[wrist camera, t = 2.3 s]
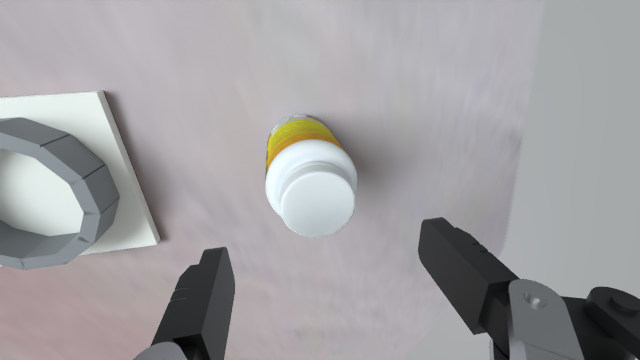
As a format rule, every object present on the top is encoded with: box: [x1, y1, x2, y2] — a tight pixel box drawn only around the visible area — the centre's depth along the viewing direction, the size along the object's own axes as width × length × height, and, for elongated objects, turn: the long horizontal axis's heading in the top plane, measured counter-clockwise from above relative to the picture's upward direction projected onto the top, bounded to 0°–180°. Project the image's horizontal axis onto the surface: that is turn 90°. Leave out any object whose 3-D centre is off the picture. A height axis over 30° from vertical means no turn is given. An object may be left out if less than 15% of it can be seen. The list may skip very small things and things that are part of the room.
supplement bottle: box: [265, 115, 357, 238], centre depth 18 cm, size 6×6×10 cm
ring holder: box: [0, 91, 160, 270], centre depth 19 cm, size 13×13×4 cm
